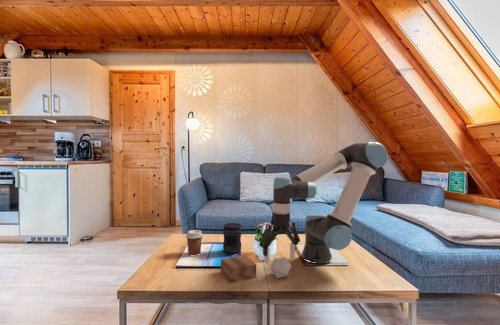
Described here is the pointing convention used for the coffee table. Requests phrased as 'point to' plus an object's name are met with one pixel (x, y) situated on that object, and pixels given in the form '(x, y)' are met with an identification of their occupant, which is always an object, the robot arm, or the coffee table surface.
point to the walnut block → (238, 268)
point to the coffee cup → (194, 242)
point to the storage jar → (232, 238)
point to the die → (280, 267)
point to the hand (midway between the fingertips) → (279, 260)
